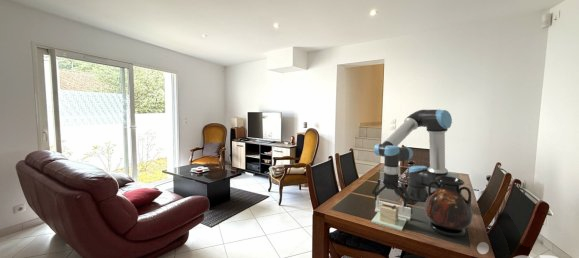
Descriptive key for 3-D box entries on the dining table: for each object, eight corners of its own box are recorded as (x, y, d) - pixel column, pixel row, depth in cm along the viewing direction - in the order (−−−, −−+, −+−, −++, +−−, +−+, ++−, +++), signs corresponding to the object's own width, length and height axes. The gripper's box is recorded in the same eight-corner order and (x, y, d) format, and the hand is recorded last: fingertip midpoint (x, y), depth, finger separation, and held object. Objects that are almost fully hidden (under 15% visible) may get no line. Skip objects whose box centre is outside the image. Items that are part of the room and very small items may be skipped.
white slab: (376, 209, 150) (376, 200, 150) (410, 218, 139) (411, 208, 138) (374, 211, 148) (375, 201, 147) (409, 220, 136) (410, 209, 136)
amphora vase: (473, 228, 127) (477, 178, 124) (469, 246, 111) (473, 189, 108) (428, 216, 141) (430, 171, 139) (418, 230, 125) (421, 179, 123)
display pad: (378, 213, 145) (378, 211, 145) (406, 220, 136) (406, 219, 136) (371, 222, 134) (371, 220, 134) (401, 231, 125) (401, 229, 125)
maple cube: (383, 215, 140) (384, 202, 140) (398, 219, 136) (398, 205, 135) (380, 220, 134) (380, 206, 133) (394, 224, 129) (395, 210, 129)
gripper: (366, 171, 136) (366, 206, 139) (414, 178, 122) (413, 217, 124) (370, 168, 142) (370, 201, 145) (416, 174, 128) (415, 211, 130)
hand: (390, 208), depth 134 cm, fingers open, 13 cm apart
